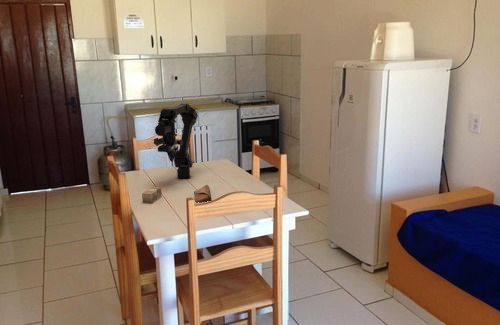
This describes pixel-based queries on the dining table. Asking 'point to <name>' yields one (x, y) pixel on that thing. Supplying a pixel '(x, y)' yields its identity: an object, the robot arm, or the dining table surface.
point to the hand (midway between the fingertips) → (171, 161)
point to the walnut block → (151, 195)
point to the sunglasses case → (202, 194)
